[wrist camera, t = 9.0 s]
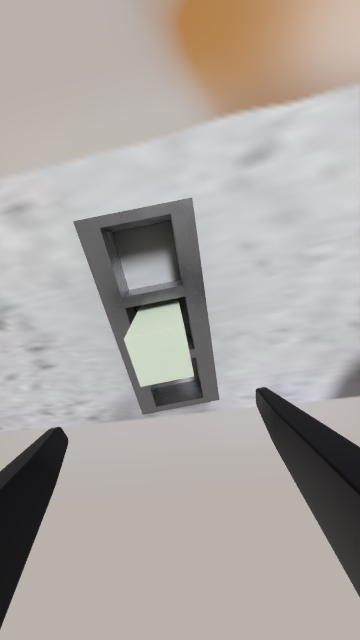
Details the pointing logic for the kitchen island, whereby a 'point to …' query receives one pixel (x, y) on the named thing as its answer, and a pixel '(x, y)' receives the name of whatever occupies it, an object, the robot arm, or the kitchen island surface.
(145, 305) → the peg
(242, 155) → the kitchen island surface
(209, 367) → the slotted holder
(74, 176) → the kitchen island surface
